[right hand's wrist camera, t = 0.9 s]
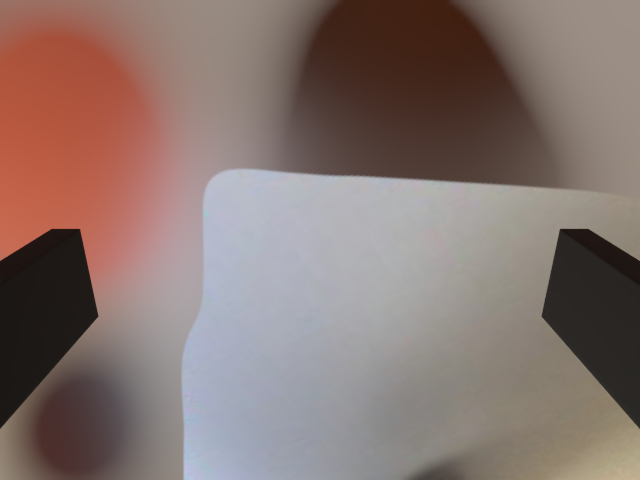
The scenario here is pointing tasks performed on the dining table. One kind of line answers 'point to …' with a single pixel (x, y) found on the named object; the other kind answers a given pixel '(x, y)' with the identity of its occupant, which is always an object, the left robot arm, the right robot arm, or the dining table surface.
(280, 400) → the dining table surface
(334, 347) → the dining table surface
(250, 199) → the dining table surface
